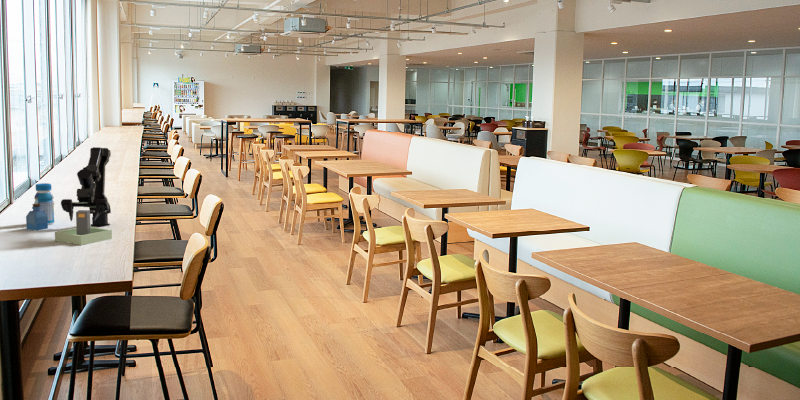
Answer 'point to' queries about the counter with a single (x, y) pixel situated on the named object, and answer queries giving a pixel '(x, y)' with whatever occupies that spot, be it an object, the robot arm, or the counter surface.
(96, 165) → the robot arm
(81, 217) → the grey square pillar
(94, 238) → the pale green tray
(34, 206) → the perfume bottle
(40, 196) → the beverage bottle
